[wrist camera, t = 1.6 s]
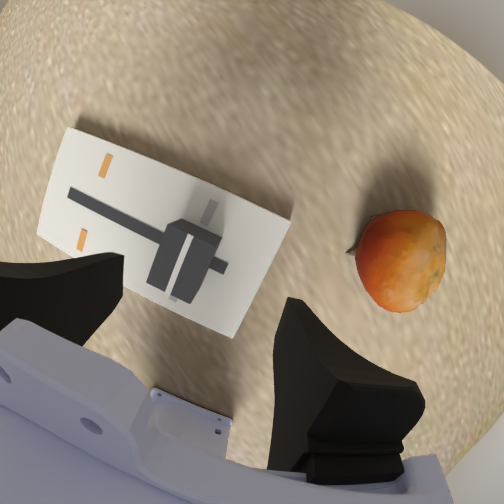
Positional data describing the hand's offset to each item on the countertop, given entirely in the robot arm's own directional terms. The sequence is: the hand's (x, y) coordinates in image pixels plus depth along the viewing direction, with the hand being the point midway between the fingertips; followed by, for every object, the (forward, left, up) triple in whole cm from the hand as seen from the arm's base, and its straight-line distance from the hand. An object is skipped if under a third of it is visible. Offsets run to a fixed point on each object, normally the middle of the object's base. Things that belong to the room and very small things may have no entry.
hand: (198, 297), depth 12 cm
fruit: (-13, -5, -13) cm, 19 cm away
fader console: (+7, +2, -13) cm, 15 cm away
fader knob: (+2, +2, -11) cm, 11 cm away
